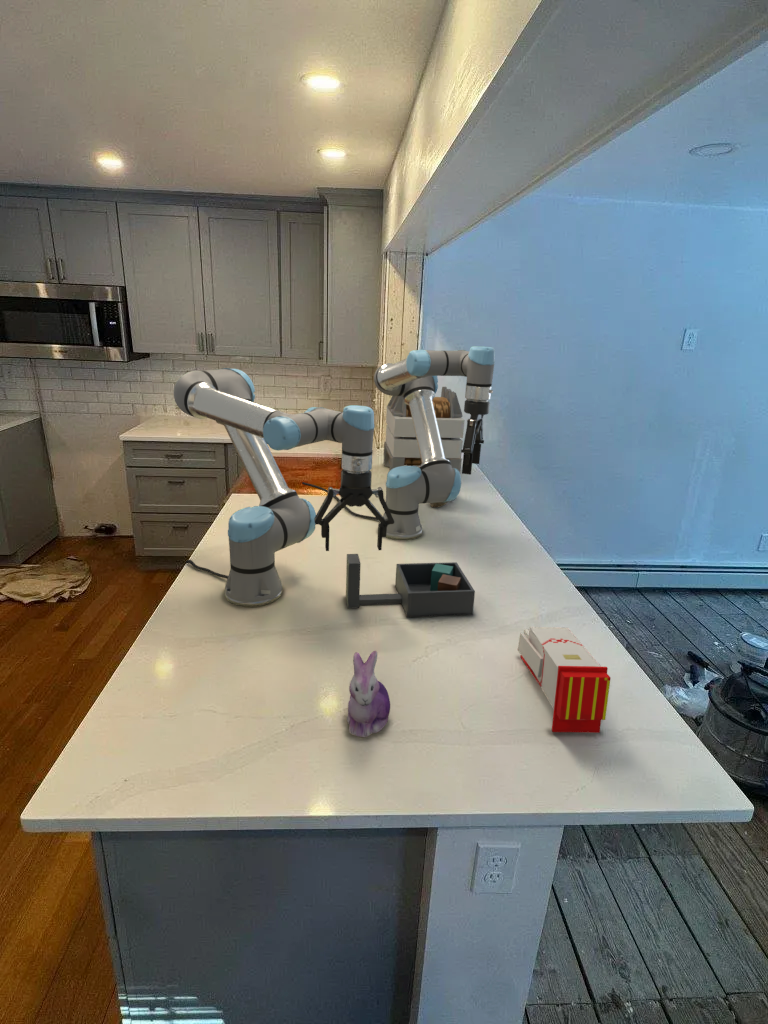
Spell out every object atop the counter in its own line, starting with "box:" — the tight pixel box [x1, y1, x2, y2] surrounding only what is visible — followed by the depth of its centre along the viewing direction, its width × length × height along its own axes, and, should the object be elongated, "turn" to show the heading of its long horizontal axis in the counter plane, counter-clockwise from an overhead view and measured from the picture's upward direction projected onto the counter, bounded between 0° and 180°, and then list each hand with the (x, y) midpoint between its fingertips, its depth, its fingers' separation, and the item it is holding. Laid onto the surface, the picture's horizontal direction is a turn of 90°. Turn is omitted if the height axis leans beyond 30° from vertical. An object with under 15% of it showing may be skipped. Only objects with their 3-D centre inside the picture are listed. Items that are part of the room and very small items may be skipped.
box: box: [345, 553, 476, 618], centre depth 152 cm, size 32×18×13 cm, turn 99°
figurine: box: [346, 650, 391, 738], centre depth 106 cm, size 9×10×15 cm
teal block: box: [430, 564, 453, 591], centre depth 158 cm, size 5×5×7 cm
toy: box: [517, 626, 611, 734], centre depth 119 cm, size 12×13×30 cm
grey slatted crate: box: [383, 386, 465, 475], centre depth 268 cm, size 34×33×41 cm
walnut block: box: [437, 574, 461, 591], centre depth 151 cm, size 5×5×7 cm
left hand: (353, 548), depth 147 cm, fingers open, 13 cm apart
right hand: (470, 468), depth 177 cm, fingers open, 13 cm apart
